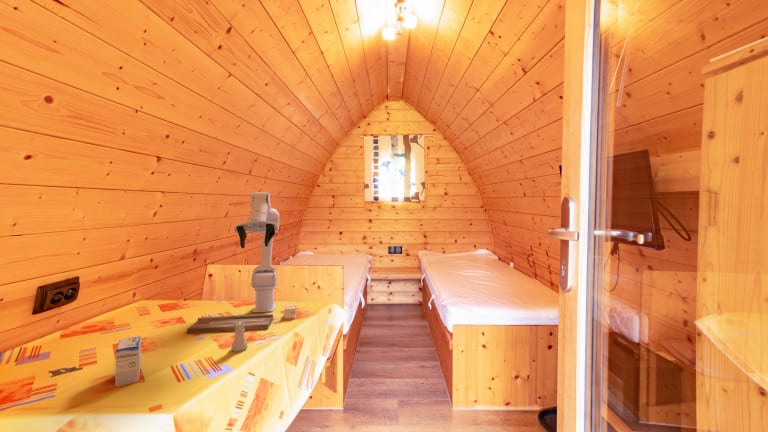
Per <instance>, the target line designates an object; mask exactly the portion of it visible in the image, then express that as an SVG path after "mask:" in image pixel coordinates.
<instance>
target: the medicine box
mask: <svg viewBox="0 0 768 432" xmlns="http://www.w3.org/2000/svg"><path fill="white" fill-rule="evenodd" d="M141 363H142V336H141V335H138V336H130V337H124V338H121V339H119V341H118V344H117V346H116V349H115V370H114V371H115V374H114V375H115V379H114V380H115V383H114V384H115V387H121V386H125V385H129V384H133V383H137V382H139V381H140V372H141V368H142V364H141Z"/></svg>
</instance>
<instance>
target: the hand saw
mask: <svg viewBox="0 0 768 432" xmlns="http://www.w3.org/2000/svg"><path fill="white" fill-rule="evenodd" d="M83 369H84V367H77V366H72V367H63V368H62V367H61V368H58V369H55V370H49V371H47V373H52V375H51V376H50V378H53V377H56V376H60V375H63V374H67V373H72V372H76V371H81V370H83ZM62 370H64V371H62Z"/></svg>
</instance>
